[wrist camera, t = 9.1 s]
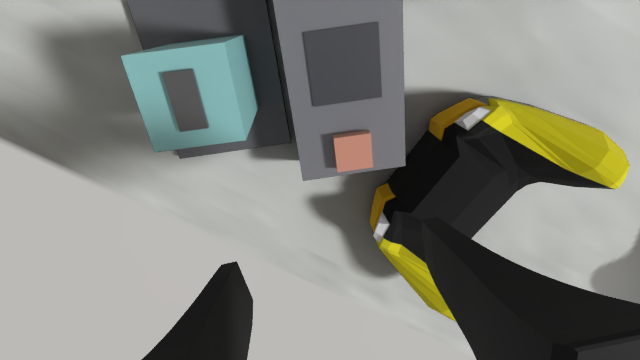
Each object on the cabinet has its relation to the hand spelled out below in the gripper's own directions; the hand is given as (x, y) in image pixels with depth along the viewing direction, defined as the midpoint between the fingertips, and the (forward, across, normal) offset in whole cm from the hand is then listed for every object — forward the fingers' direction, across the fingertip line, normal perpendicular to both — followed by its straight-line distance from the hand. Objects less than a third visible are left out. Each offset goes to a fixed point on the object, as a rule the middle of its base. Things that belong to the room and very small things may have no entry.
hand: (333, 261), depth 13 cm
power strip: (+10, -3, -8) cm, 13 cm away
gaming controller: (+11, -9, +4) cm, 15 cm away
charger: (+10, +4, -6) cm, 13 cm away
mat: (+10, +4, -6) cm, 13 cm away
